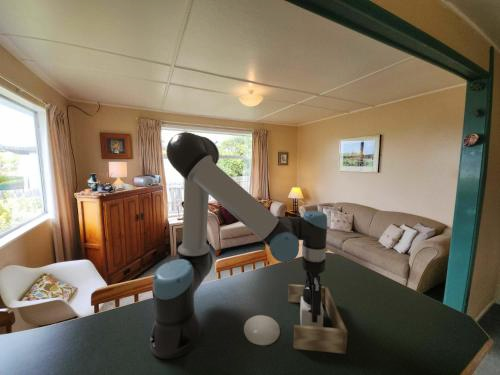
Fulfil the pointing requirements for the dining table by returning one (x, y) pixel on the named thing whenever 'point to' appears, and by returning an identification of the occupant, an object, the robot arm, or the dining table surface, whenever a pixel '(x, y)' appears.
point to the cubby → (319, 336)
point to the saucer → (261, 330)
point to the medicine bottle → (306, 306)
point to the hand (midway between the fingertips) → (311, 319)
